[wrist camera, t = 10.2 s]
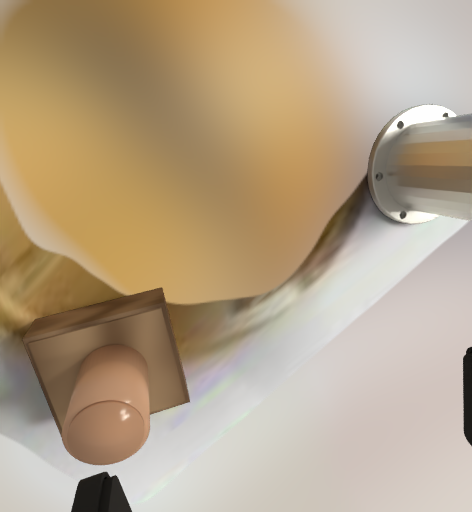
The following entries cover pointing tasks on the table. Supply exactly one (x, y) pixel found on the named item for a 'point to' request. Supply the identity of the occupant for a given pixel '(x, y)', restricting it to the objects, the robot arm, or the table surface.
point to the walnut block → (103, 334)
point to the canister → (108, 407)
